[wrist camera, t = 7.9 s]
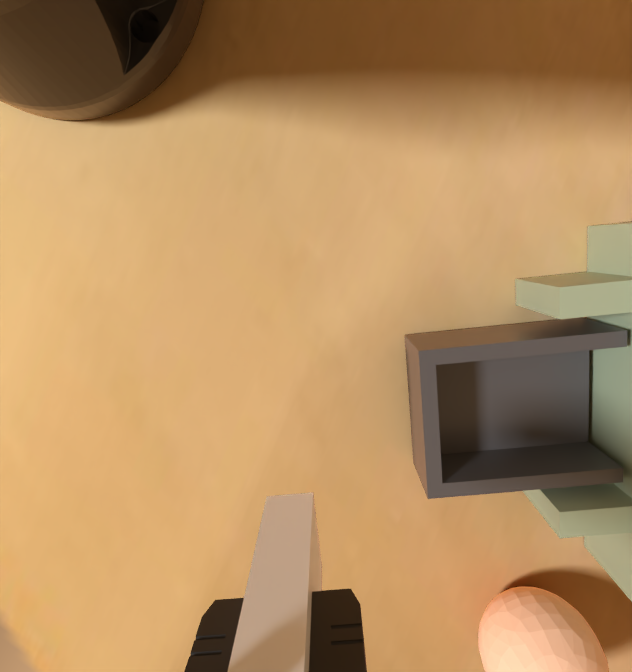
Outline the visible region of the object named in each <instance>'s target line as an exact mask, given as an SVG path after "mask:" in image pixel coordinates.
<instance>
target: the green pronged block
mask: <svg viewBox="0 0 632 672" xmlns="http://www.w3.org/2000/svg"><path fill="white" fill-rule="evenodd" d="M515 287H516V305H517V306H520V307H523V308H526V309H529V310H532V311H535V312H538V313H542V314H545V315H548V316H551V317H554V318H557V319H569V318H579V317H587V319H590V320H593V321H597V322H600V323H604V324H607V325H610V326H614V327H617V328H621V329H624V330H627V347H618V348H607V349H597V350H589V419H588V442H590V443H591V444H592V445H594V446H595V447H596V448H598V449H599V450H600V451H602V452H603V453H604V454H606V455H607V456H608V457H610V458H611V459H612V460H614V461H615V462H616V463H617V464H619V465H620V466H621V467H623V482H621V483H609V484H597V485H585V486H573V487H562V488H550V489H538V490H526V491H523V492H524V494H525V495H526V496H527V497H528V499H529V500H530V501H531V503H532V504H533V505H534V506H535V508H536V509H537V510H538V511H539V513H540V514H541V515H542V516H543V518H544V519H545V520H546V521H547V523H548V524H549V525H550V527H551V528H552V529H553V530H554V532H555V533H556V534H557V535H558V537H559V538H570V537H583V536H584V546H585V548H586V549H587V550H588V551H589V552H590V553H591V555H592V556H593V557H594V558H595V559H596V560H597V562H598V563H599V564H600V565H601V566H602V568H603V569H604V570H605V571H606V572H607V573H608V575H609V576H610V577H611V578H612V579H613V580H614V582H615V583H616V584H617V585H618V586H619V587H620V589H621V590H622V591H623V592H624V593H625V595H626V596H627V597H628V598H629V599H630V600H631V602H632V221H631V222H622V223H612V224H603V225H594V226H588V245H587V272H578V273H568V274H558V275H549V276H539V277H529V278H520V279H515Z"/></svg>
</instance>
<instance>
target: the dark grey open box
mask: <svg viewBox="0 0 632 672" xmlns="http://www.w3.org/2000/svg"><path fill="white" fill-rule="evenodd" d="M405 347H406V361H407V376H408V390H409V404H410V419H411V433H412V448H413V462H414V465H415V468H416V470H417V473H418V475H419V478H420V480H421V483H422V485H423V488H424V490H425V493H426V495H427V498H428V499H431V498H443V497H455V496H467V495H479V494H490V493H502V492H514V491H526V490H538V489H550V488H562V487H573V486H585V485H597V484H609V483H621V482H623V467H621V466H620V465H619V464H617V463H616V462H615V461H614V460H612V459H611V458H610V457H608V456H607V455H606V454H604V453H603V452H602V451H600V450H599V449H598V448H596V447H595V446H594V445H592V444H591V443H590V442H588V419H589V350H597V349H607V348H618V347H627V330H624V329H621V328H617V327H614V326H610V325H607V324H604V323H600V322H597V321H593V320H590V319H586V318H583V317H579V318H569V319H558V320H548V321H538V322H528V323H518V324H508V325H498V326H488V327H478V328H468V329H458V330H448V331H438V332H428V333H418V334H408V335H405Z"/></svg>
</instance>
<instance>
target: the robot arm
mask: <svg viewBox="0 0 632 672" xmlns="http://www.w3.org/2000/svg"><path fill="white" fill-rule="evenodd" d="M202 5H203V0H0V101H2V102H4V103H6V104H9V105H11V106H13V107H15V108H18V109H20V110H23V111H25V112H28V113H31V114H34V115H38V116H42V117H46V118H52V119H60V120H85V119H93V118H99V117H102V116H106V115H110V114H113V113H116V112H118V111H121V110H123V109H125V108H127V107H129V106H131V105H133V104H135V103H137V102H138V101H140V100H141V99H143V98H144V97H146V96H147V95H148V94H149V93H151V92H152V91H153V90H154V89H156V88H157V87H158V86H159V85H160V84H161V83H162V82H163V81H164V80H165V79H166V78H167V76H168V75H169V74H170V73H171V72H172V70H173V69H174V68H175V67H176V65H177V64H178V62H179V61H180V59H181V58H182V56H183V54H184V53H185V51H186V49H187V47H188V45H189V43H190V41H191V39H192V37H193V34H194V32H195V29H196V26H197V23H198V20H199V17H200V13H201V9H202ZM185 672H367V668H366V657H365V647H364V637H363V627H362V618H361V608H360V603H359V602H358V600H357V598H356V597H355V595H354V593H353V592H352V590H351V589H340V590H326V591H322V562H321V554H320V545H319V537H318V529H317V521H316V512H315V504H314V496H313V492H312V493H300V494H288V495H277V496H267V497H266V502H265V506H264V511H263V515H262V520H261V524H260V529H259V533H258V538H257V542H256V546H255V551H254V555H253V560H252V564H251V569H250V573H249V578H248V582H247V587H246V591H245V596H244V598H237V599H223V600H215V601H214V602H213V604H212V605H211V606H210V607H209V609H208V610H207V611H206V613H205V614H204V615H203V617H202V619H201V622H200V625H199V628H198V631H197V634H196V640H195V641H194V644H193V647H192V650H191V656H190V657H189V659H188V662H187V666H186V669H185Z"/></svg>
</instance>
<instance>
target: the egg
mask: <svg viewBox="0 0 632 672" xmlns="http://www.w3.org/2000/svg"><path fill="white" fill-rule="evenodd" d="M478 640H479V652H480V656H481V660H482V663H483V667H484V670H485V672H609V668H608V662H607V659H606V656H605V654H604V651H603V649H602V647H601V645H600V642H599V640H598V638H597V636H596V635H595V633H594V631H593V630H592V628H591V627H590V625H589V624H588V623H587V621H586V620H585V618H584V617H583V616H582V615H581V614H580V613H579V611H578V610H576V609H575V608H574V607H573V606H571V605H570V604H569V603H568V602H566V601H565V600H564V599H563V598H561V597H559V596H558V595H556V594H554V593H551V592H549V591H547V590H544V589H540V588H536V587H524V586H523V587H514V588H510V589H508V590H506V591H503V592H501V593H500V594H498V595H497V596H496V597H495V598H493V599H492V601H491V602H490V603H489V604H488V606H487V607H486V609H485V612H484V614H483V616H482V619H481V621H480V626H479V632H478Z"/></svg>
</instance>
